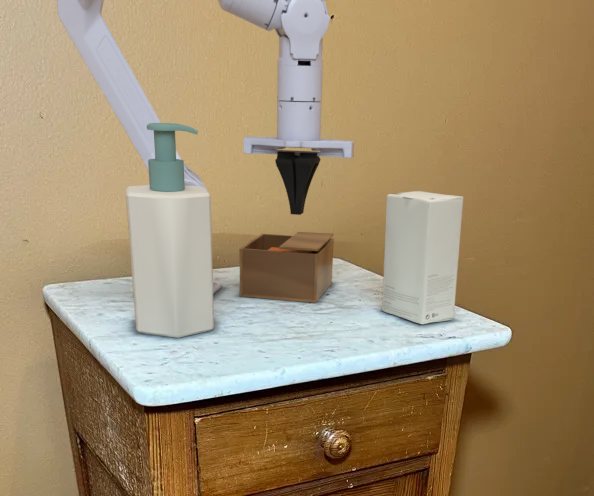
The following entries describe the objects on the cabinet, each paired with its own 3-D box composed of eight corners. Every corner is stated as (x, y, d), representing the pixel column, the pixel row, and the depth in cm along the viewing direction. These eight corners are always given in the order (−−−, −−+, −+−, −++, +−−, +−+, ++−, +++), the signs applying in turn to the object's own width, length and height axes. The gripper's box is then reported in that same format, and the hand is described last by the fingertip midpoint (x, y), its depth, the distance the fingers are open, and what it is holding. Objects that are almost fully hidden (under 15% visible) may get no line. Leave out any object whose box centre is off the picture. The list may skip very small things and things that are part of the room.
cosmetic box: (454, 320, 99) (469, 196, 92) (418, 326, 96) (432, 199, 89) (411, 305, 105) (422, 188, 98) (376, 310, 102) (386, 190, 95)
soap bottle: (216, 337, 90) (211, 127, 80) (137, 339, 89) (121, 125, 78) (207, 313, 99) (201, 121, 88) (134, 315, 97) (119, 119, 87)
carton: (261, 277, 117) (261, 233, 114) (331, 283, 115) (333, 238, 112) (239, 296, 107) (239, 248, 104) (316, 303, 105) (318, 254, 102)
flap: (298, 233, 113) (298, 231, 113) (333, 235, 112) (333, 233, 112) (279, 248, 103) (279, 246, 103) (317, 251, 102) (317, 248, 102)
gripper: (236, 100, 97) (237, 214, 104) (350, 104, 94) (344, 221, 101) (251, 98, 103) (251, 207, 110) (358, 102, 100) (352, 213, 107)
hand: (297, 213), depth 106 cm, fingers closed
